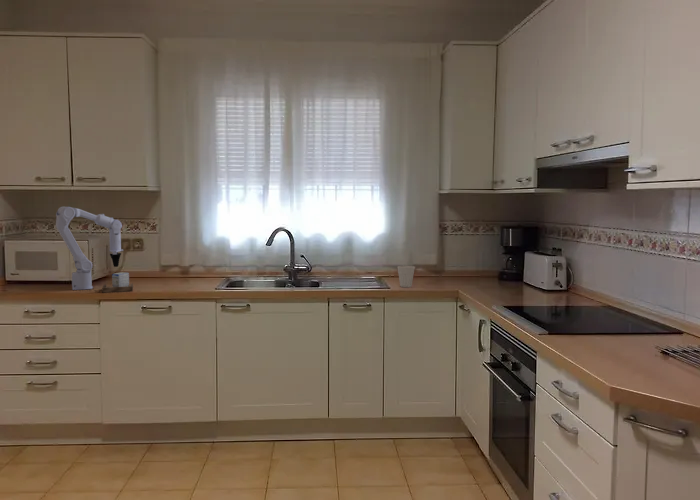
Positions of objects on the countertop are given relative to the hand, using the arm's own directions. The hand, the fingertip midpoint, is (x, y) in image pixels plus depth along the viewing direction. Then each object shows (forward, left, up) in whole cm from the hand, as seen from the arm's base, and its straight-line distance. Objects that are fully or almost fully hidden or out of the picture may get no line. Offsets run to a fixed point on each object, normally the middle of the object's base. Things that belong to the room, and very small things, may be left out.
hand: (116, 266), depth 325 cm
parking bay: (+1, -17, -10) cm, 20 cm away
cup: (+149, -49, -11) cm, 158 cm away
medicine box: (+3, -15, -11) cm, 19 cm away
